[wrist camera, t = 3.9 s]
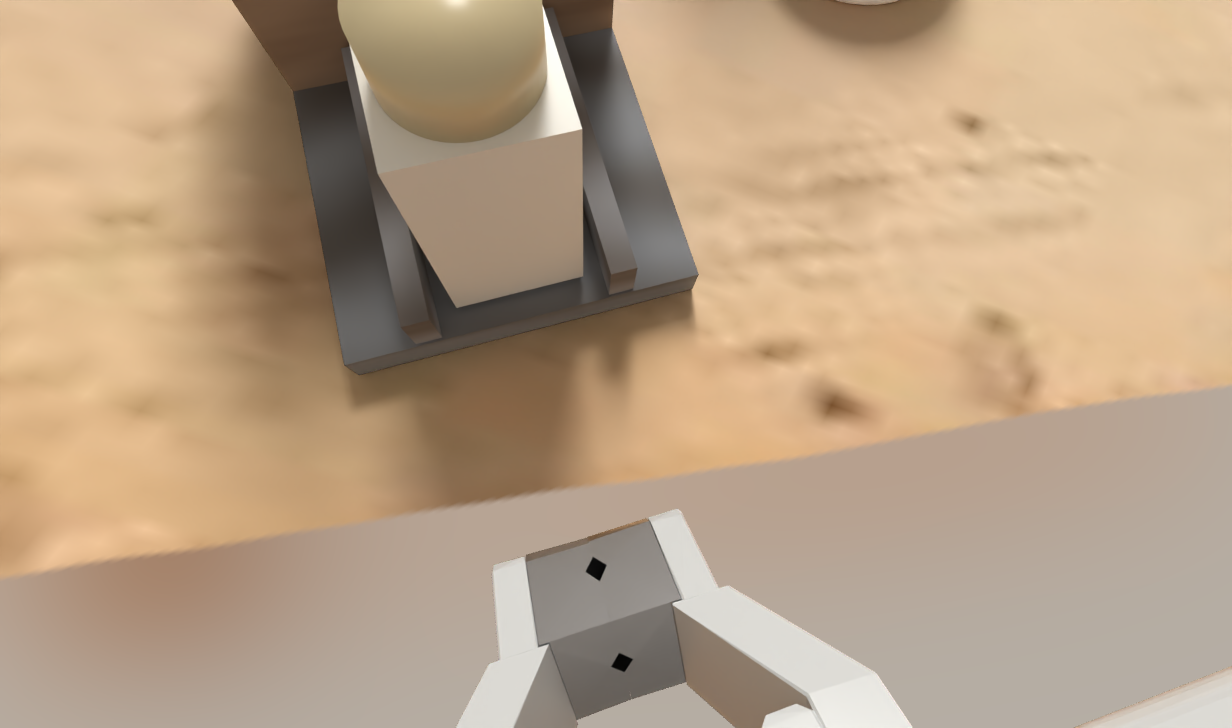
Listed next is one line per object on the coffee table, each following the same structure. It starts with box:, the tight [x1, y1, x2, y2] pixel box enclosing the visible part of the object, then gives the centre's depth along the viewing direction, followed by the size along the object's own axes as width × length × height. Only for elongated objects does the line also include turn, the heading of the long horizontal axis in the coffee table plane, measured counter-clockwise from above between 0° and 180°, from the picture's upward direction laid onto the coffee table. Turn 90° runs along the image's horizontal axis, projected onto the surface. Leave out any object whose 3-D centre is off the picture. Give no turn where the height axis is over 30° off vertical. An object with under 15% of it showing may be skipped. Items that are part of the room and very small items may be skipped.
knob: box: [338, 0, 583, 308], centre depth 18 cm, size 5×5×11 cm
